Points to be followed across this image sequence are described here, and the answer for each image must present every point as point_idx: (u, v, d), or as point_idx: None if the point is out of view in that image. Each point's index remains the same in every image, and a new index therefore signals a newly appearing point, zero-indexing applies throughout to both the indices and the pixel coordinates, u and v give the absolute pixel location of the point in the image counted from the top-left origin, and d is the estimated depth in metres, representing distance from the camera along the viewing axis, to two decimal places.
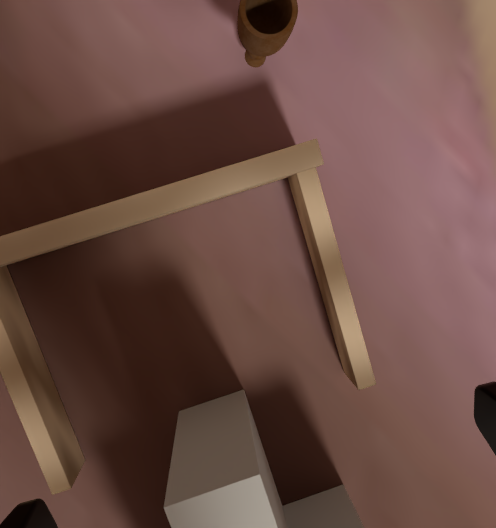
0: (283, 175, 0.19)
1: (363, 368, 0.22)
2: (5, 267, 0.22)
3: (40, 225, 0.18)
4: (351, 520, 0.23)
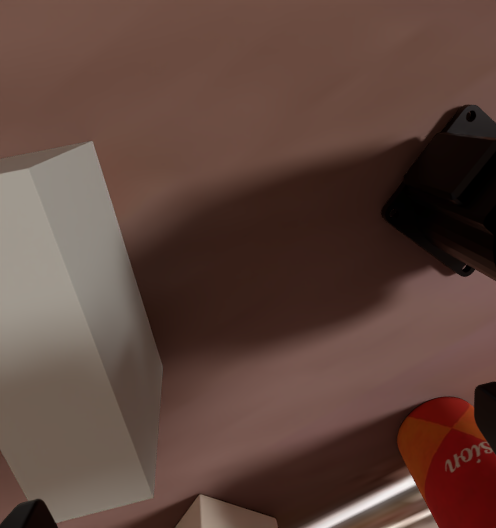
0: None
1: None
2: None
3: None
4: None
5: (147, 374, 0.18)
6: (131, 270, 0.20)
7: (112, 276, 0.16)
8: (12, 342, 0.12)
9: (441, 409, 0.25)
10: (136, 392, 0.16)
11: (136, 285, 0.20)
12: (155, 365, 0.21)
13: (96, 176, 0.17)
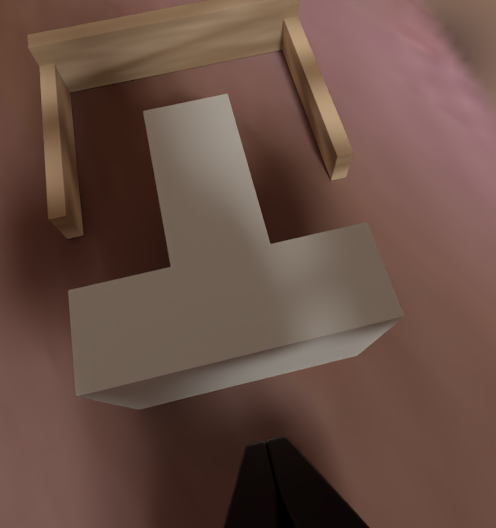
0: (270, 0, 0.28)
1: (340, 139, 0.25)
2: (69, 91, 0.30)
3: (103, 20, 0.27)
4: None
5: (164, 393, 0.19)
6: (248, 381, 0.22)
7: (272, 366, 0.19)
8: (266, 289, 0.16)
9: None
10: (174, 382, 0.17)
11: (233, 385, 0.22)
12: (154, 401, 0.20)
13: (337, 357, 0.21)
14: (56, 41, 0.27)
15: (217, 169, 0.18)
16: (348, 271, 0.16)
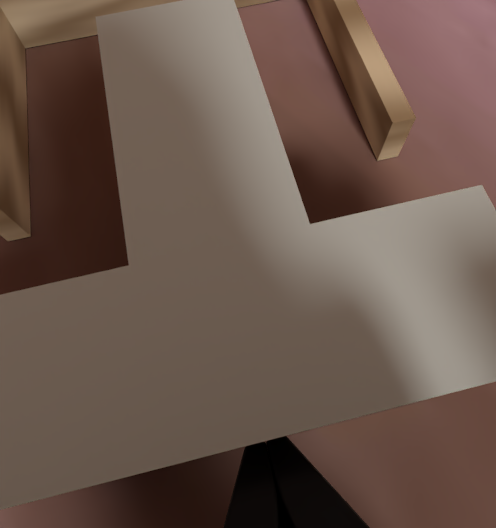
0: None
1: (396, 100, 0.17)
2: (23, 46, 0.23)
3: None
4: None
5: None
6: None
7: None
8: (305, 307, 0.08)
9: None
10: None
11: None
12: None
13: None
14: None
15: (214, 101, 0.11)
16: (458, 272, 0.09)
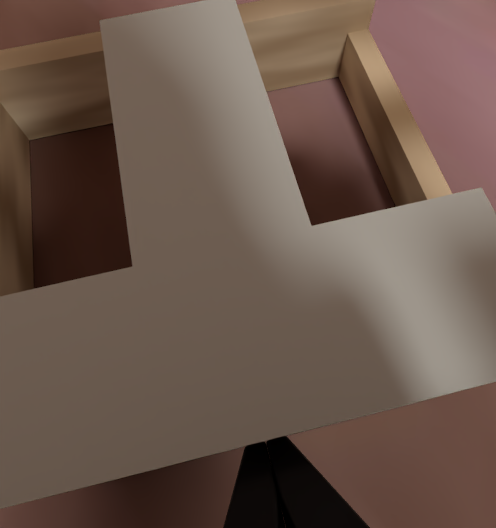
0: (332, 5, 0.18)
1: None
2: (27, 139, 0.20)
3: (73, 36, 0.18)
4: None
5: None
6: None
7: None
8: (306, 309, 0.08)
9: None
10: None
11: None
12: None
13: None
14: None
15: (216, 103, 0.11)
16: (458, 274, 0.09)
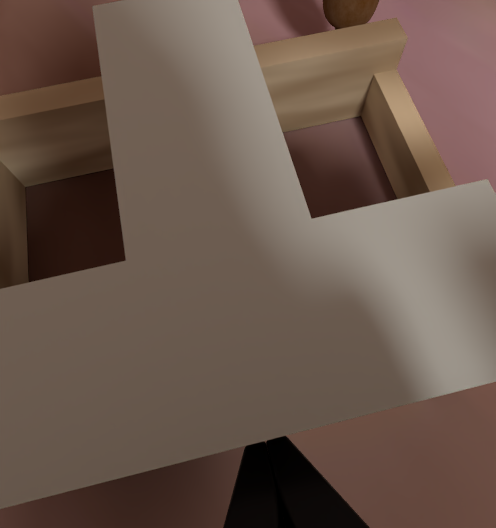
0: (359, 46, 0.16)
1: None
2: (23, 186, 0.19)
3: (73, 82, 0.16)
4: None
5: None
6: None
7: None
8: (306, 304, 0.08)
9: None
10: None
11: None
12: None
13: None
14: None
15: (214, 92, 0.10)
16: (462, 268, 0.08)
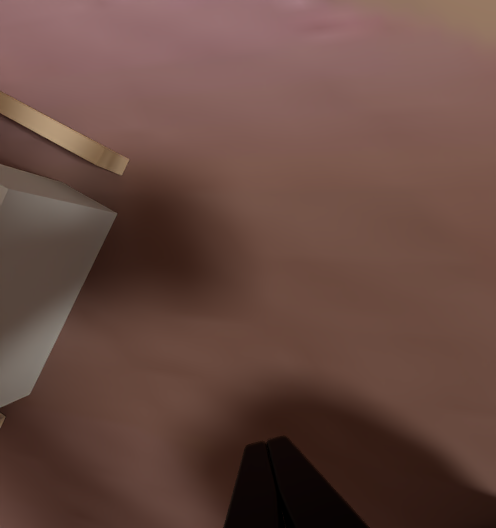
0: None
1: (84, 145, 0.21)
2: None
3: None
4: None
5: None
6: (69, 307, 0.24)
7: (34, 294, 0.20)
8: None
9: None
10: None
11: (63, 320, 0.24)
12: (19, 384, 0.23)
13: (94, 233, 0.22)
14: None
15: None
16: None
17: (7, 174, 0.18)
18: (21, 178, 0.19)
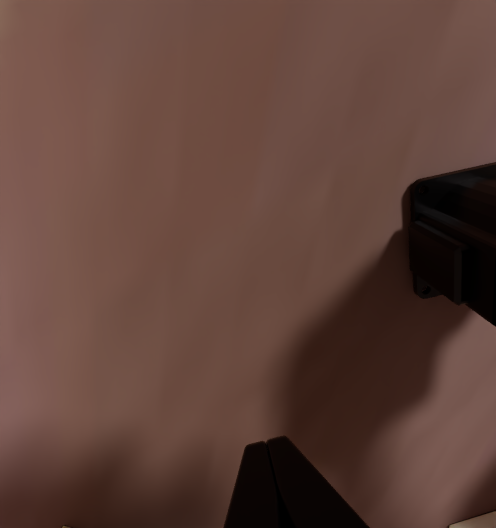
0: None
1: None
2: None
3: None
4: None
5: None
6: None
7: None
8: None
9: None
10: None
11: None
12: None
13: None
14: None
15: None
16: None
17: None
18: None
